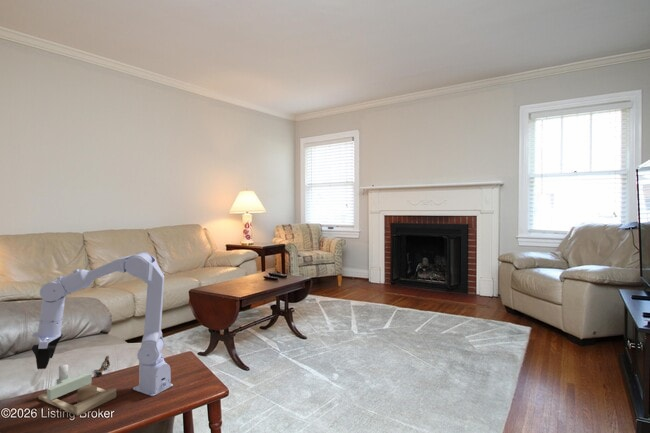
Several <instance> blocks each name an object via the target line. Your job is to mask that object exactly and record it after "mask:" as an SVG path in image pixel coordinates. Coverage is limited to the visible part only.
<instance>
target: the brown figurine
mask: <svg viewBox="0 0 650 433" xmlns="http://www.w3.org/2000/svg"><path fill="white" fill-rule="evenodd" d="M109 359H110V355H106V356H105V357H104V360H103V362H102V363H101V365H100V368H99V370H98V371H95V374H96V375H95V376H103V371H107V370H108V369H109V367H110V366H111V362H110V360H109Z"/></svg>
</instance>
